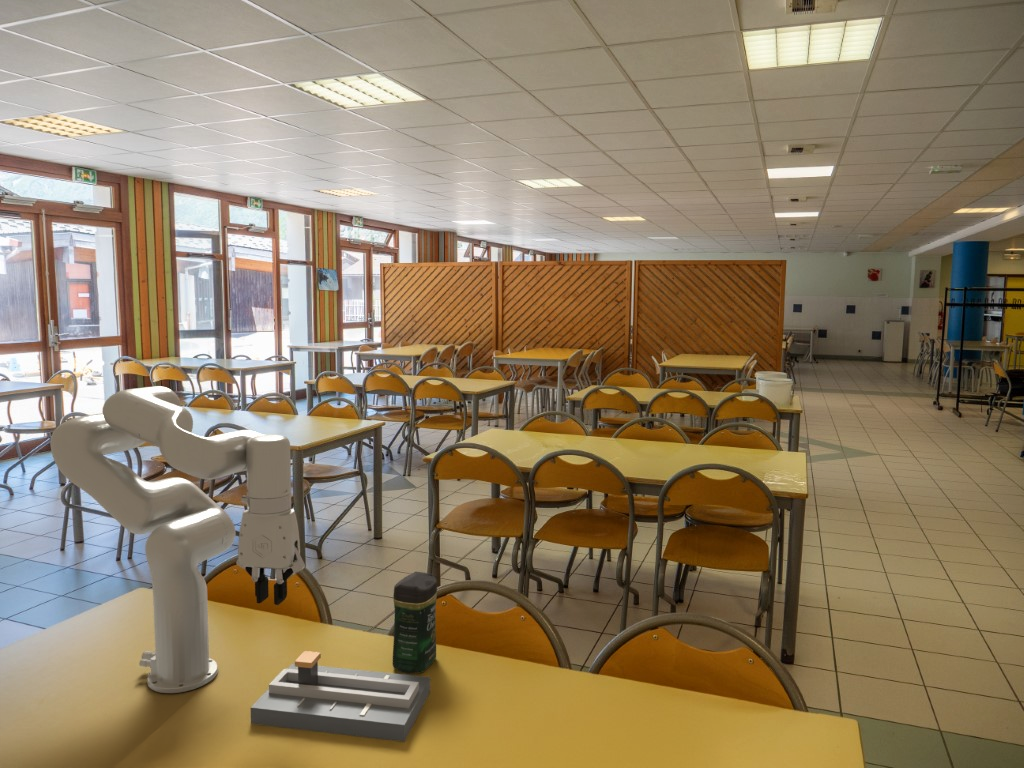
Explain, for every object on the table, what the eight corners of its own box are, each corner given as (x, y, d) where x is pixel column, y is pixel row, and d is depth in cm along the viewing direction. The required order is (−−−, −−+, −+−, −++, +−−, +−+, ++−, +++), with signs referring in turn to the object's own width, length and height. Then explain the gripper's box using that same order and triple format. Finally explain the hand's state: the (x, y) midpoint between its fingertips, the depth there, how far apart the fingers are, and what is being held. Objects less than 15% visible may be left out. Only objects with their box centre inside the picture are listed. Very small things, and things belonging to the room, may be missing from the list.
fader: (295, 692, 130) (294, 661, 129) (304, 681, 134) (304, 650, 133) (311, 694, 129) (311, 662, 129) (321, 683, 133) (320, 652, 133)
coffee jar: (423, 678, 141) (423, 588, 140) (387, 671, 144) (387, 583, 142) (442, 656, 151) (442, 571, 149) (407, 650, 153) (408, 566, 151)
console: (250, 723, 125) (250, 698, 125) (292, 677, 141) (292, 655, 140) (404, 741, 121) (404, 716, 120) (430, 692, 136) (430, 669, 136)
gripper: (216, 506, 127) (219, 605, 129) (302, 512, 124) (303, 613, 126) (239, 495, 134) (241, 589, 136) (320, 500, 131) (321, 596, 133)
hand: (271, 600), depth 131 cm, fingers open, 2 cm apart
